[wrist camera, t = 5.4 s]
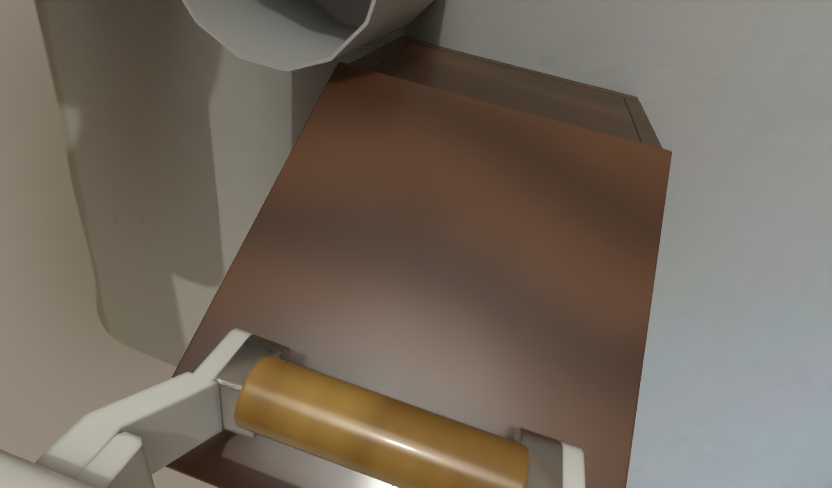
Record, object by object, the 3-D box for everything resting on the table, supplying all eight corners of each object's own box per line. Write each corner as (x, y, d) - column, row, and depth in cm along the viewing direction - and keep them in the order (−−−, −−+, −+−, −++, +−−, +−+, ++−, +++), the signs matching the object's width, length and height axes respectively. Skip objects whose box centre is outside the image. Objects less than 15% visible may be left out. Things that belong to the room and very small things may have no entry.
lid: (593, 630, 12) (692, 728, 8) (145, 452, 13) (26, 455, 9) (662, 163, 17) (739, 75, 13) (340, 75, 19) (321, -28, 14)
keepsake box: (546, 297, 31) (541, 387, 25) (369, 241, 33) (321, 313, 26) (638, 97, 23) (665, 152, 17) (400, 36, 25) (344, 66, 19)
